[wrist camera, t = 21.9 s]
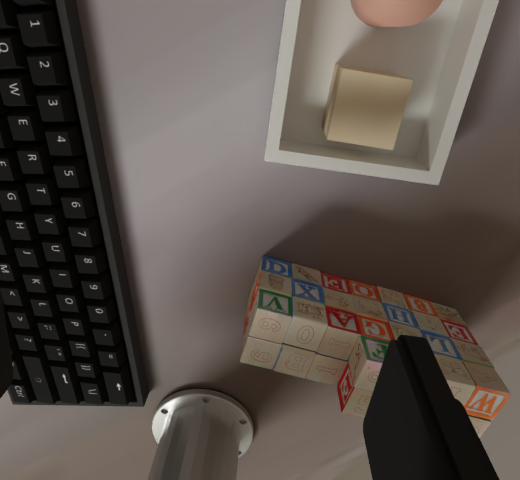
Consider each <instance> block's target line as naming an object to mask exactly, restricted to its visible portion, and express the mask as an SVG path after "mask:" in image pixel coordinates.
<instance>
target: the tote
mask: <svg viewBox="0 0 520 480" xmlns="http://www.w3.org/2000/svg"><path fill="white" fill-rule="evenodd" d="M498 2H499V0H443V1H442V3H441V5H440V6H439V7H438V9H437V10H436V11H435V12H434V13H433V14H432V15H430V16H429V17H428V18H426V19H425V20H423V21H421V22H420V23H417V24H414V25H411V26H403V27H383V28H377V27H372V26H369V25H367V24H365V23H363V22H362V21H361V20H360V19H359V18H358V17H357V16H356V14H355V13H354V11H353V9H352V6H351V2H350V0H286V6H285V13H284V21H283V28H282V35H281V42H280V50H279V57H278V64H277V71H276V79H275V86H274V93H273V100H272V108H271V115H270V122H269V129H268V137H267V144H266V151H265V158H264V161H269V162H276V163H283V164H290V165H297V166H305V167H312V168H319V169H326V170H333V171H340V172H347V173H354V174H361V175H368V176H375V177H382V178H389V179H397V180H404V181H411V182H418V183H425V184H432V185H439V182H440V179H441V176H442V173H443V170H444V167H445V164H446V161H447V158H448V155H449V152H450V149H451V146H452V143H453V140H454V137H455V134H456V131H457V127H458V124H459V121H460V118H461V115H462V112H463V109H464V106H465V103H466V100H467V97H468V94H469V91H470V88H471V85H472V82H473V79H474V76H475V73H476V69H477V66H478V63H479V60H480V57H481V54H482V51H483V48H484V45H485V42H486V39H487V36H488V33H489V30H490V27H491V24H492V21H493V18H494V15H495V12H496V8H497V5H498ZM335 64H339V65H345V66H351V67H357V68H363V69H369V70H375V71H381V72H387V73H393V74H397V75H400V76H403V77H406V78H408V79H411V80H413V83H412V86H411V89H410V93H409V96H408V100H407V103H406V107H405V110H404V114H403V117H402V121H401V124H400V127H399V131H398V134H397V138H396V141H395V145H394V148H393V150H388V149H381V148H375V147H369V146H363V145H357V144H351V143H345V142H338V141H332V140H327V138H326V136H325V133H324V131H323V129H322V122H323V118H324V113H325V108H326V104H327V99H328V94H329V89H330V85H331V80H332V75H333V70H334V66H335Z"/></svg>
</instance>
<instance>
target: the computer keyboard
mask: <svg viewBox="0 0 520 480" xmlns="http://www.w3.org/2000/svg"><path fill="white" fill-rule="evenodd" d="M0 290H1V295H2V301H3V307H4V314H5V320H6V326H7V333H8V339H9V345H10V352H11V358H12V364H13V372H14V374H13V379H12V382H11V384H10V386H9V388H8V389H7V390H8V393H9V395H10V398H11V401H12V403H13V404H20V405H81V406H142V407H144V405H145V402H146V399H147V397H148V394H149V391H148V386H147V381H146V375H145V370H144V365H143V359H142V354H141V349H140V343H139V338H138V332H137V327H136V322H135V316H134V311H133V306H132V300H131V295H130V289H129V284H128V279H127V273H126V268H125V263H124V257H123V252H122V246H121V241H120V236H119V230H118V225H117V220H116V214H115V209H114V203H113V198H112V193H111V187H110V182H109V177H108V171H107V166H106V161H105V155H104V150H103V144H102V139H101V134H100V128H99V123H98V118H97V112H96V107H95V101H94V96H93V91H92V85H91V80H90V75H89V69H88V64H87V58H86V53H85V48H84V42H83V37H82V32H81V26H80V21H79V16H78V10H77V5H76V0H0Z"/></svg>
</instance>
